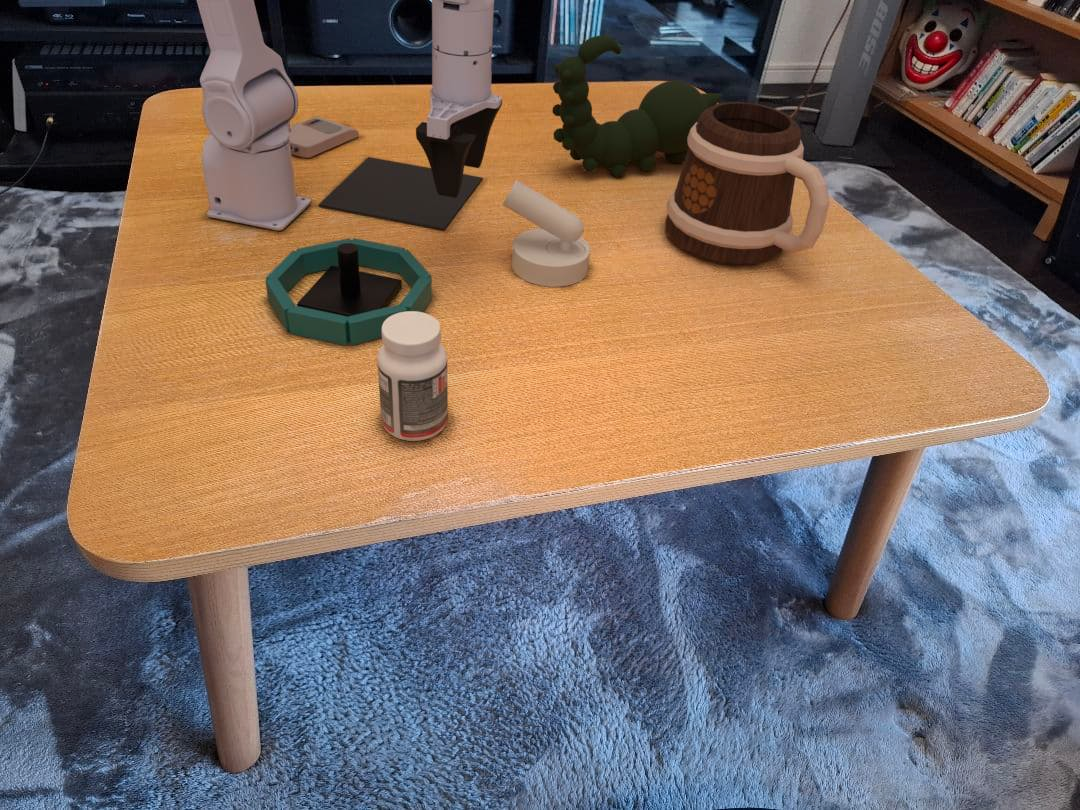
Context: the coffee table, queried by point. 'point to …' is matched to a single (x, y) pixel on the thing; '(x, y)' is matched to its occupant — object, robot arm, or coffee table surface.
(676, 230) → the mug
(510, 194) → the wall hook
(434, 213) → the mat
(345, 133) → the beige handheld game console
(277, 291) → the hoop
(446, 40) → the robot arm
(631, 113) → the toy figurine
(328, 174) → the coffee table surface
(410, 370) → the pill bottle
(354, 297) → the post
